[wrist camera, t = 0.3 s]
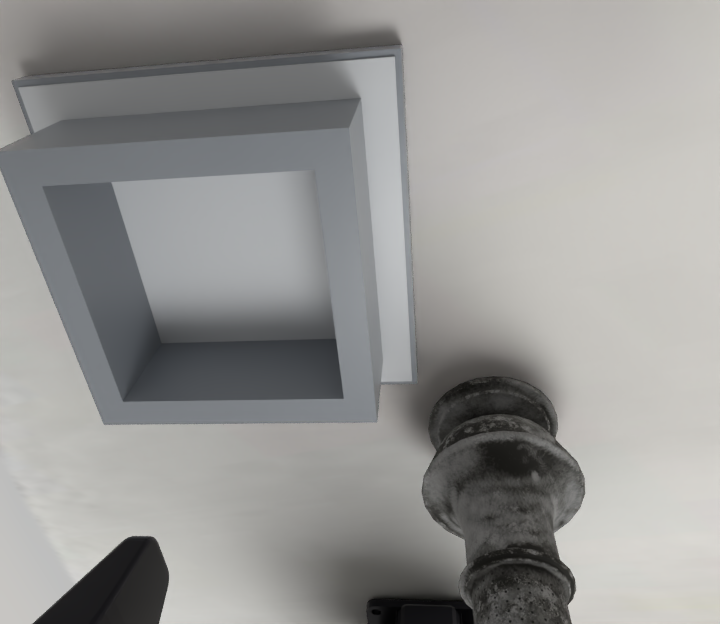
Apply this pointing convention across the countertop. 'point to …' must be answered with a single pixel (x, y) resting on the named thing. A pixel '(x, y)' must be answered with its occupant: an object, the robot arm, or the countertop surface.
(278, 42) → the countertop surface
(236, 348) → the dock
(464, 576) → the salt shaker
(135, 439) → the countertop surface
